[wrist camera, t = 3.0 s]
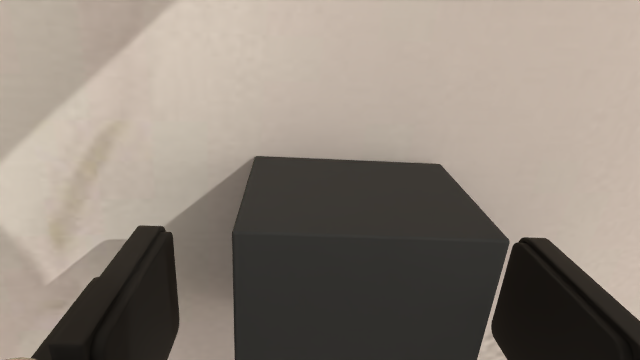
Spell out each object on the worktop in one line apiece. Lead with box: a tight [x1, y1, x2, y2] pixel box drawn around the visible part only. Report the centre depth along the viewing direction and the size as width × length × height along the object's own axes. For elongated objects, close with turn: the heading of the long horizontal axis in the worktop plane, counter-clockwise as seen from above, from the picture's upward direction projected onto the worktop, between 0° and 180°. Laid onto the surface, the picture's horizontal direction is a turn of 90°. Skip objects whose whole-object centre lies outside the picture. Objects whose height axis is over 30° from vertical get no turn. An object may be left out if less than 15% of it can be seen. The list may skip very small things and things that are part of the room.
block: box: [232, 156, 509, 360], centre depth 10 cm, size 5×5×4 cm
